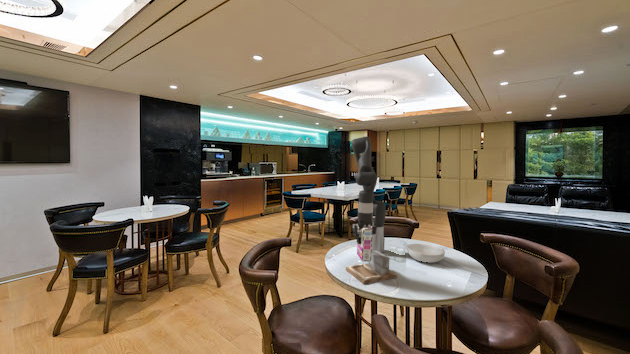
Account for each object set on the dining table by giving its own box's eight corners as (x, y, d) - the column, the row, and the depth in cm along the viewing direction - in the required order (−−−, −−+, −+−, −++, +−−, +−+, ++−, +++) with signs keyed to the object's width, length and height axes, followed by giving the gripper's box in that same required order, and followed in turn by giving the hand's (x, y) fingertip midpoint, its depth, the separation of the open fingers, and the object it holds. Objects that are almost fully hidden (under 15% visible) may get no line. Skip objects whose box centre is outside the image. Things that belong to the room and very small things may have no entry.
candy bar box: (371, 261, 130) (373, 229, 129) (361, 261, 130) (363, 229, 128) (365, 253, 141) (366, 223, 140) (356, 253, 141) (357, 223, 140)
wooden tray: (376, 264, 149) (377, 248, 148) (396, 277, 134) (397, 259, 133) (345, 270, 141) (346, 252, 141) (363, 284, 126) (363, 265, 125)
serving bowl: (440, 255, 165) (441, 244, 164) (447, 269, 145) (448, 256, 144) (405, 251, 170) (406, 241, 170) (407, 264, 150) (408, 252, 150)
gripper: (372, 208, 140) (371, 239, 141) (349, 210, 134) (348, 242, 136) (381, 211, 133) (380, 244, 134) (357, 213, 127) (356, 247, 129)
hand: (364, 243), depth 135 cm, fingers closed on candy bar box, 6 cm apart
